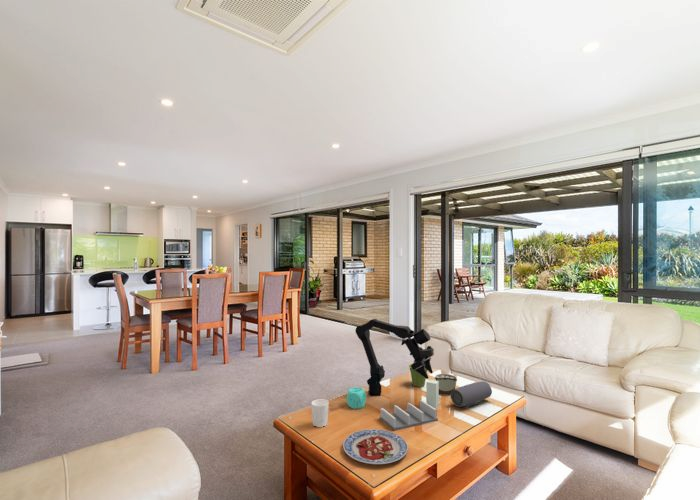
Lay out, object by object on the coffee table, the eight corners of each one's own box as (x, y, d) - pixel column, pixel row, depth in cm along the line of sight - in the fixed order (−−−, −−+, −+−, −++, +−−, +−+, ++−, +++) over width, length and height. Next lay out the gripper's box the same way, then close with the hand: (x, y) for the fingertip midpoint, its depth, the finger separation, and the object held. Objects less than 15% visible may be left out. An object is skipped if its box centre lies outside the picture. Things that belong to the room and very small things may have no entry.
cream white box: (436, 409, 179) (436, 383, 180) (426, 407, 182) (426, 382, 182) (438, 406, 183) (438, 381, 184) (429, 404, 186) (429, 379, 186)
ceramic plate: (334, 440, 150) (334, 433, 150) (388, 429, 159) (388, 423, 159) (358, 476, 126) (358, 467, 126) (420, 460, 135) (420, 452, 135)
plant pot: (432, 384, 214) (432, 366, 214) (421, 390, 205) (421, 370, 206) (415, 380, 222) (415, 362, 222) (404, 385, 214) (404, 366, 214)
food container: (455, 391, 204) (455, 374, 204) (457, 395, 198) (457, 377, 198) (433, 390, 205) (433, 373, 205) (434, 394, 199) (434, 376, 199)
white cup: (331, 422, 166) (331, 400, 166) (324, 429, 158) (324, 407, 159) (315, 419, 168) (315, 398, 169) (308, 426, 161) (308, 404, 161)
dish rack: (379, 418, 170) (379, 407, 170) (421, 409, 180) (421, 399, 180) (393, 430, 158) (394, 419, 158) (437, 420, 168) (437, 409, 168)
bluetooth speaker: (478, 396, 197) (478, 378, 197) (492, 402, 189) (492, 383, 190) (449, 405, 185) (449, 385, 185) (464, 412, 177) (464, 391, 177)
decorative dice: (346, 407, 182) (346, 391, 182) (351, 401, 189) (352, 386, 189) (361, 410, 179) (361, 394, 179) (366, 403, 187) (366, 388, 187)
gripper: (422, 345, 179) (439, 374, 175) (431, 338, 195) (446, 364, 191) (404, 355, 183) (420, 383, 179) (414, 347, 199) (429, 373, 195)
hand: (429, 375), depth 186 cm, fingers open, 9 cm apart
